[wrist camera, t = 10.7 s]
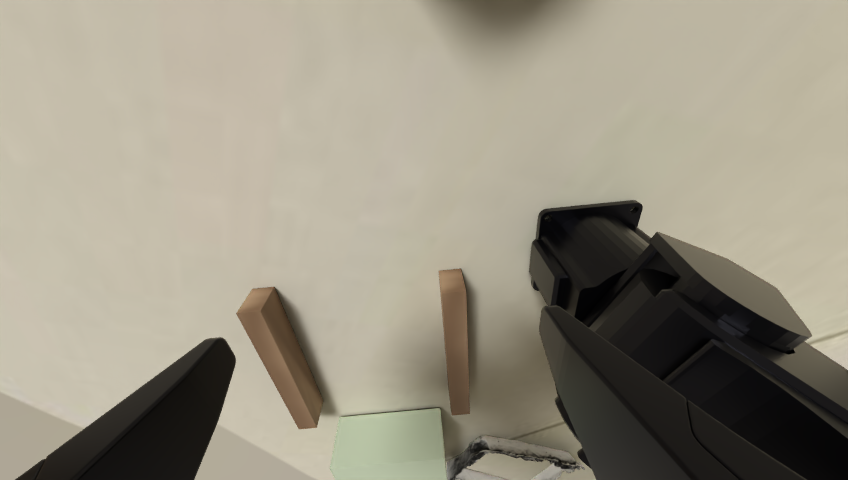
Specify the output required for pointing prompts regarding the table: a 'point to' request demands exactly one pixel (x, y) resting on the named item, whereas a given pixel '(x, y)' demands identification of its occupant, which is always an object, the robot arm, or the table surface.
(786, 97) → the table surface
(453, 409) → the chute rails
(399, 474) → the block
